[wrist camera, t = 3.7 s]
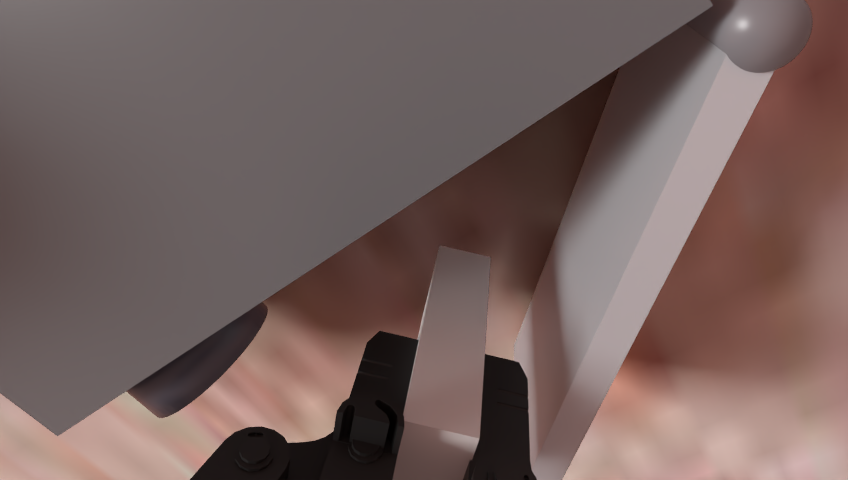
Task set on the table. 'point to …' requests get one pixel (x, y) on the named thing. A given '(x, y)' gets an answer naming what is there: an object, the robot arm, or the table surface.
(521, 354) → the door
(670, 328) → the table surface
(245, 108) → the case
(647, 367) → the table surface
